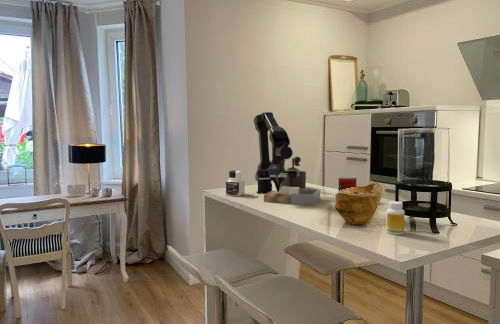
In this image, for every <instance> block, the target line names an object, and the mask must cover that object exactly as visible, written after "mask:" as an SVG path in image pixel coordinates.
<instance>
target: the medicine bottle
mask: <svg viewBox="0 0 500 324" xmlns="http://www.w3.org/2000/svg"><path fill="white" fill-rule="evenodd" d="M228 176H229V177H228V180H226V181H225V195H226V196H230V197H231V196H232V197H241V196H243V195H244V194H245V191H246V190H245V179H242V171H241V170H236V169H235V170H229V172H228Z"/></svg>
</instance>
